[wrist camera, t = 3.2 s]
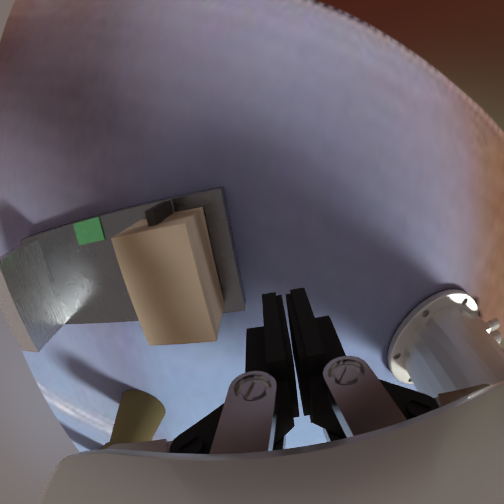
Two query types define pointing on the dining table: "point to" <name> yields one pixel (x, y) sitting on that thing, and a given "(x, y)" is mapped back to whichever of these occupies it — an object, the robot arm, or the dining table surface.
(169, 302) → the block
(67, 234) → the gauge rail
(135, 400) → the olive brown pawn
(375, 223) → the dining table surface
